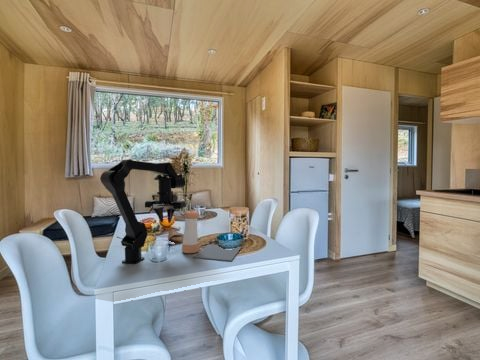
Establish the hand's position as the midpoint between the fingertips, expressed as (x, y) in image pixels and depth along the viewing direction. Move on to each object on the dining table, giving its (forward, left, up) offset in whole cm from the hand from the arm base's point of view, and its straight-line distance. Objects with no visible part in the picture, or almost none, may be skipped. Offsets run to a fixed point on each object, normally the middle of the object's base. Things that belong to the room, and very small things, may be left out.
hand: (165, 222), depth 122 cm
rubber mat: (+2, -25, -13) cm, 29 cm away
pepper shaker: (0, -12, -13) cm, 18 cm away
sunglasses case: (+16, +4, -14) cm, 22 cm away
